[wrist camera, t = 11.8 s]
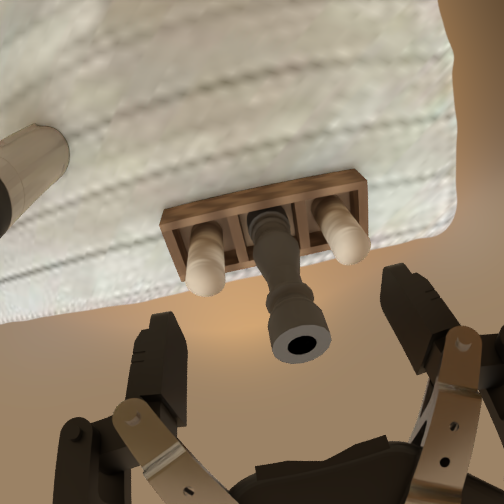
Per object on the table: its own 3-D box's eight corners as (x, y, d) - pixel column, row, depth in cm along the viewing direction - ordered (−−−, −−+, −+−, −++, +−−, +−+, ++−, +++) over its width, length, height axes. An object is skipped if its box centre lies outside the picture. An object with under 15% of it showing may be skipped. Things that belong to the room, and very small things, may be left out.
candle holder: (294, 215, 50) (346, 336, 29) (268, 243, 53) (302, 371, 32) (263, 193, 48) (301, 312, 27) (238, 223, 50) (255, 353, 29)
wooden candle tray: (183, 263, 54) (177, 318, 44) (163, 209, 49) (149, 257, 38) (357, 225, 54) (389, 270, 43) (354, 168, 48) (392, 204, 37)
